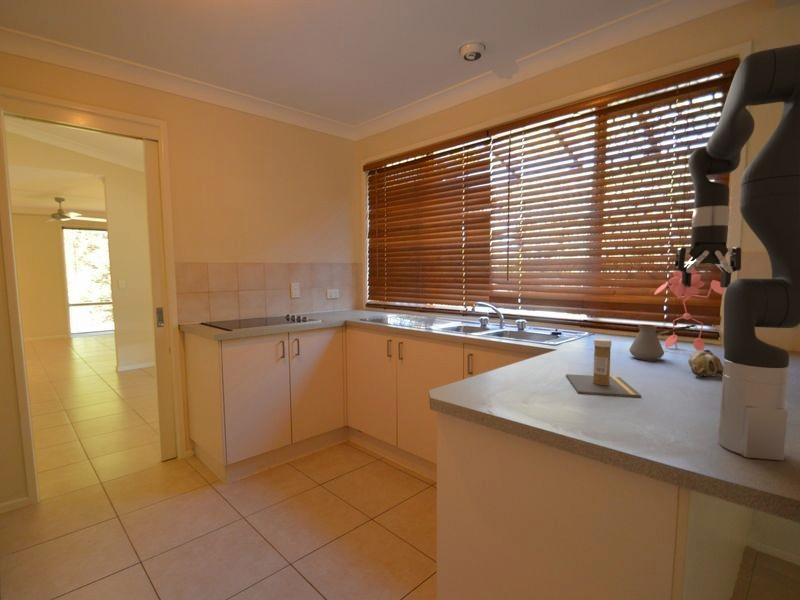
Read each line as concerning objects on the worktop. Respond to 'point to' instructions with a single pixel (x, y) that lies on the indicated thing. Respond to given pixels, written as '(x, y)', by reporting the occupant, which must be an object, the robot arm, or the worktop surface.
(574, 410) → the worktop surface
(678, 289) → the pink flower figure
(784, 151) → the robot arm
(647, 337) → the coffee pot
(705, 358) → the ceramic sculpture
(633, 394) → the line mat
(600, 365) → the sprinkles bottle
